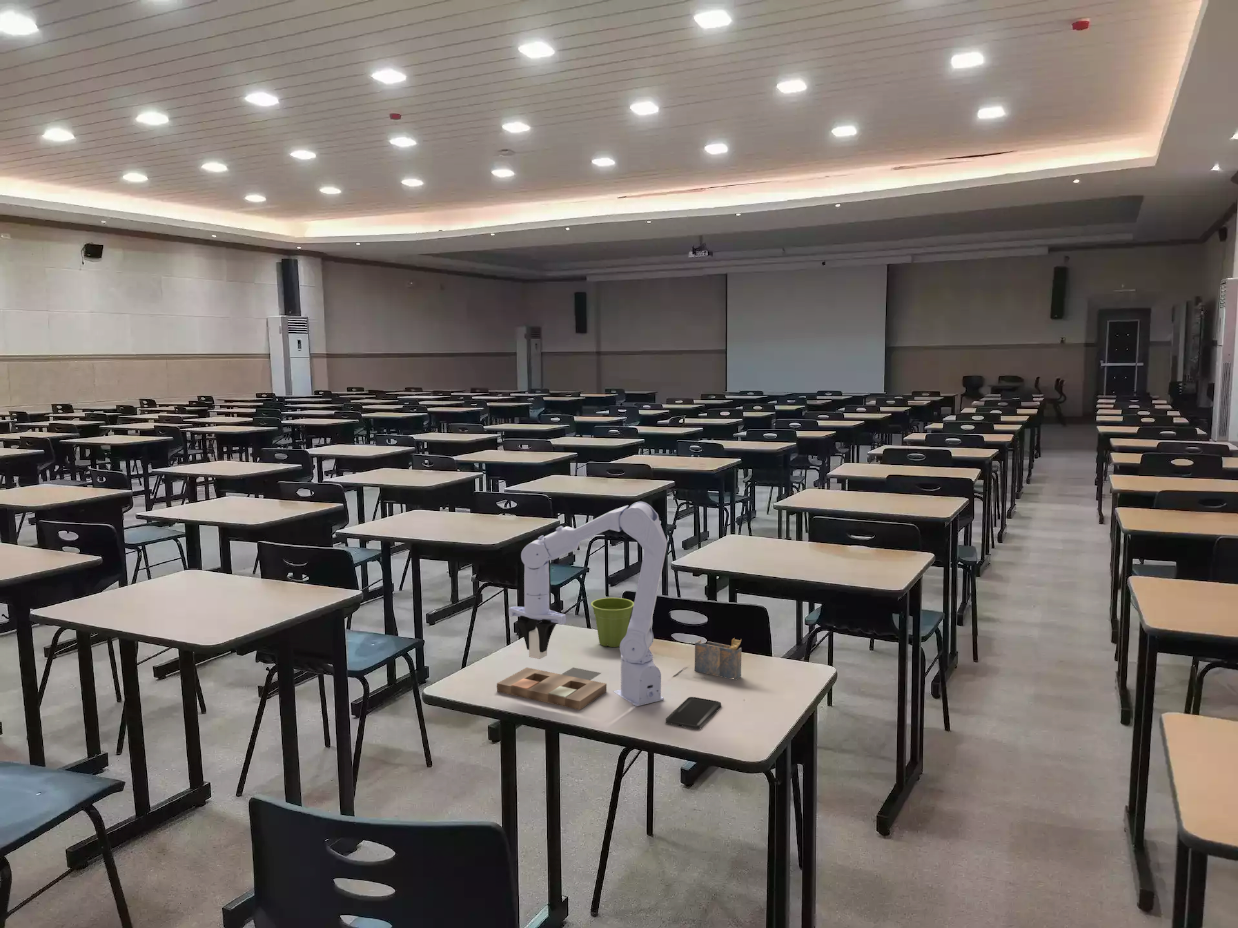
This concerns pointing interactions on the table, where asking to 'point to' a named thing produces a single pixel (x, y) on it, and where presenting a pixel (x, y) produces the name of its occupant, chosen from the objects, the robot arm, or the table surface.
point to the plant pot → (612, 619)
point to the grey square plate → (581, 673)
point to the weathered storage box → (718, 659)
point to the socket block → (552, 688)
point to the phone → (693, 713)
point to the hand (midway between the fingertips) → (537, 649)
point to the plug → (535, 645)
